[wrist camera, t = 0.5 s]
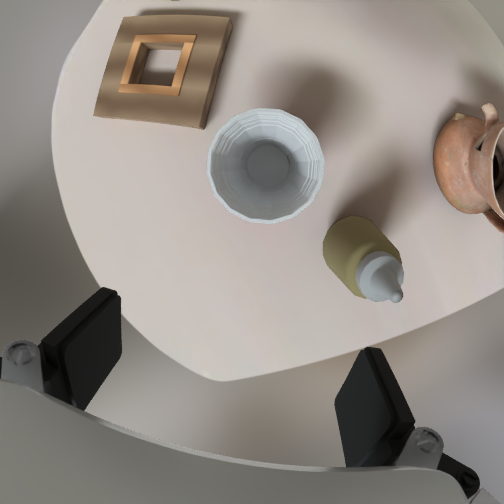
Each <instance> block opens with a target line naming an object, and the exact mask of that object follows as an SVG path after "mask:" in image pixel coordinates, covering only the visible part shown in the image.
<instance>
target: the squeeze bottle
mask: <svg viewBox="0 0 504 504" xmlns="http://www.w3.org/2000/svg"><path fill="white" fill-rule="evenodd" d="M323 256H324V259H325V261H326V264H327V266H328V267H329V268H330V269H331V270H332V271H333V272H334V273H335V274H336V275H337V277H338V278H339V279H340V280H341V281H342V282H343V283H344V284H345V285H346V287H347V288H348V289H349V290H350V291H351V292H352V293H353V294H354V295H356V296H359V297H362V298H365V299H369V300H372V301H375V302H378V301H385V300H387V299H388V300H390V301H392V302H394V303H398V302H400V301H401V300H402V298H403V292H402V289H401V285H402V283H403V277H404V272H403V268H402V261H401V258H400V254H399V251H398V250H397V249H396V248H395V246H394V245H393V244H392V243H391V242H390V241H389V240H388V239H387V237H386V236H385V235H384V234H383V233H382V232H381V231H380V230H379V229H378V228H377V227H376V226H375V225H374V224H373V222H372V221H370V220H368V219H366V218H363V217H361V216H348V217H346V218H343V219H341V220H339V221H337V222H336V223H335V224H334V225H333V226H332V227H331V228H330V229H329V230H328V232H327V234H326V236H325V239H324V241H323Z"/></svg>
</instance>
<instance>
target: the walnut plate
mask: <svg viewBox="0 0 504 504" xmlns="http://www.w3.org/2000/svg"><path fill="white" fill-rule="evenodd" d="M232 27H233V26H232V23H231V20H230V17H219V16H204V15H146V16H132V17H124V18H123V20H122V23H121V25H120V28H119V30H118V33H117V36H116V39H115V41H114V44H113V47H112V50H111V53H110V56H109V59H108V62H107V65H106V69H105V72H104V75H103V79H102V82H101V86H100V90H99V94H98V98H97V102H96V106H95V110H94V115H93V116H97V117H102V118H112V119H125V120H136V121H146V122H155V123H163V124H171V125H178V126H185V127H192V128H198V129H205V124H206V120H207V116H208V112H209V108H210V104H211V100H212V96H213V92H214V89H215V85H216V81H217V78H218V74H219V70H220V67H221V63H222V60H223V56H224V53H225V50H226V46H227V43H228V40H229V37H230V33H231V30H232ZM150 49H164V50H182V52H181V55H180V59H179V62H178V65H177V69H176V72H175V75H174V79H173V83H172V86H160V85H144V84H139V83H140V79H141V76H142V72H143V69H144V66H145V63H146V59H147V56H148V53H149V50H150Z"/></svg>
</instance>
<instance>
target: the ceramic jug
mask: <svg viewBox="0 0 504 504" xmlns="http://www.w3.org/2000/svg"><path fill="white" fill-rule="evenodd" d="M482 110H483V112H484V115H485V122H484V121H482V120H480V119H478V118H476V117H473V116H465V115H464V114H460V113H456V114H454V116H453V117H452V118H451V120H450V121H449V122H448V123H446V125H445V126H444V127H443V128H442V130H441V131H440V133H439V135H438V137H437V140H436V143H435V147H434V154H433V164H434V173H435V177H436V180H437V183H438V185H439V188H440V190H441V192H442V194H443V195H444V197H445V198H446V199H447V201H448V202H449V203H450V204H451V205H452V206H453V207H455V208H456V209H457V210H459V211H461V212H464V213H467V214H478V213H483V214H484V215H485V216H486V217H487V219H488V220H489V221H490V222H491V223H492V224H493V225H494V226H495V227H496V228H497V229H498V230H499V231H500V232H502V233H504V219H502V218H501V217H500V216H502V217H503V218H504V122H503V123H500V122H499V119H498V113H497V111H496V109H495V107H494V105H493V104H492V103H487V104H485V105H483V106H482ZM492 208H493V209H494V210H495V211H496V212H497V213H498V214H499V215H500V216H499V215H498V214H497V213H496V212H495V211H494V210H493V209H492Z"/></svg>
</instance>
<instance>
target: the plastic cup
mask: <svg viewBox="0 0 504 504" xmlns="http://www.w3.org/2000/svg"><path fill="white" fill-rule="evenodd" d="M324 160H325V159H324V156H323V153H322V150H321V147H320V144H319V141H318V138H317V136H316V135H315V134H314V133H313V132H312V131H311V130H310V128H309V127H308V126H307V125H306V124H305V123H304V122H303V121H302V120H301V119H299V118H297V117H295V116H293V115H291V114H289V113H287V112H285V111H283V110H281V109H266V108H255V109H252V110H250V111H247V112H244V113H241V114H238V115H235V116H234V117H233V118H232V119H231V120H229V121H228V122H227V123H226V124H225V125H224V126H223V127H222V128H220V129H219V130H218V131H217V133H216V136H215V138H214V140H213V142H212V144H211V146H210V148H209V150H208V159H207V176H208V179H209V182H210V185H211V188H212V190H213V193H214V195H215V196H216V198H217V199H218V200H219V201H220V202H221V203H222V204H223V206H224V207H225V208H226V209H227V210H228V211H229V212H231V213H233V214H234V215H236V216H238V217H240V218H242V219H244V220H246V221H248V222H255V223H266V224H274V223H277V222H280V221H284V220H287V219H290V218H294V217H295V216H296V215H297V214H299V213H300V212H301V211H302V210H304V209H305V208H306V207H307V206H309V205H310V204H311V203H312V202H313V200H314V198H315V196H316V194H317V192H318V190H319V188H320V187H321V185H322V183H323V173H324Z"/></svg>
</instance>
